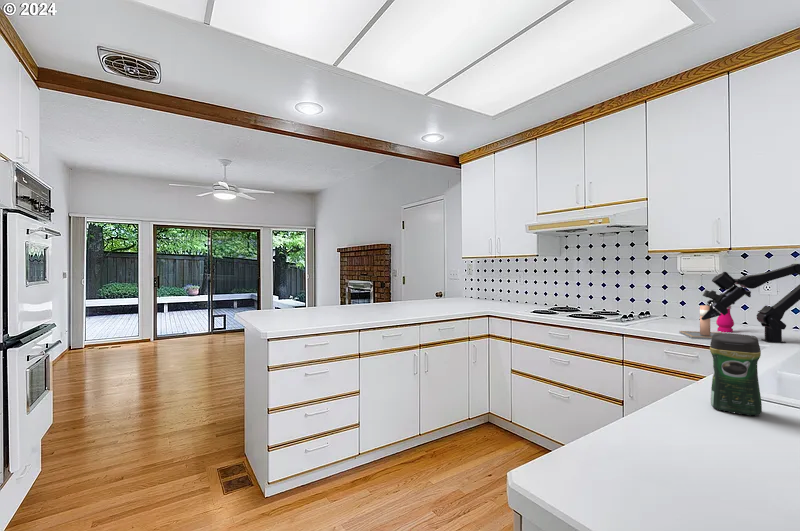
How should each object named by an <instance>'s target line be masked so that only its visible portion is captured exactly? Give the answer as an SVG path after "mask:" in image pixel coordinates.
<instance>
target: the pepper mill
mask: <svg viewBox="0 0 800 531" xmlns="http://www.w3.org/2000/svg"><path fill="white" fill-rule="evenodd" d="M731 309H732V305H731V306H729V307H728V308H727V310H728V313H727V314H726V315H723V314H722V313H720V314H721V315H720V316H717V319H716V325H717V326H718V327H717V329H716V330H717V331H716V332H719V331H721V333H728V332H731V333H734V328H733V327H734V326H735V321H734V319H733V317H732V314H731Z"/></svg>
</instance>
